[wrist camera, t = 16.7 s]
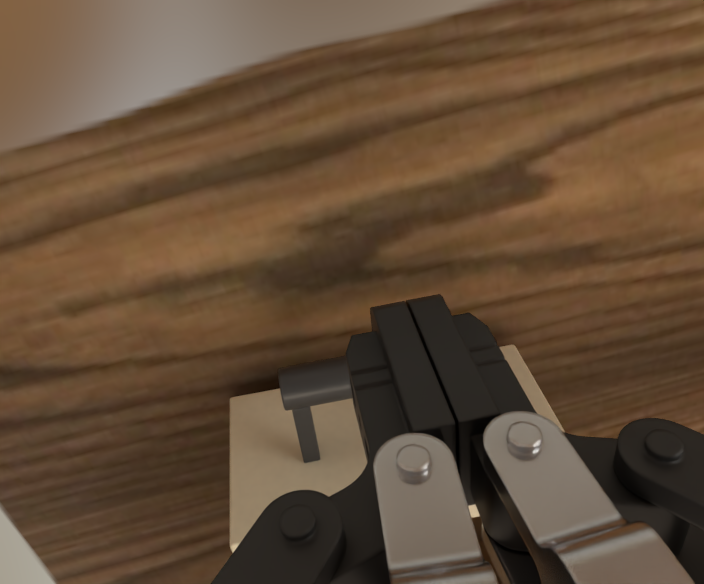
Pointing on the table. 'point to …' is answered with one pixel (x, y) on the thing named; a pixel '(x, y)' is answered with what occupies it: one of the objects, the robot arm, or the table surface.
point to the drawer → (314, 439)
